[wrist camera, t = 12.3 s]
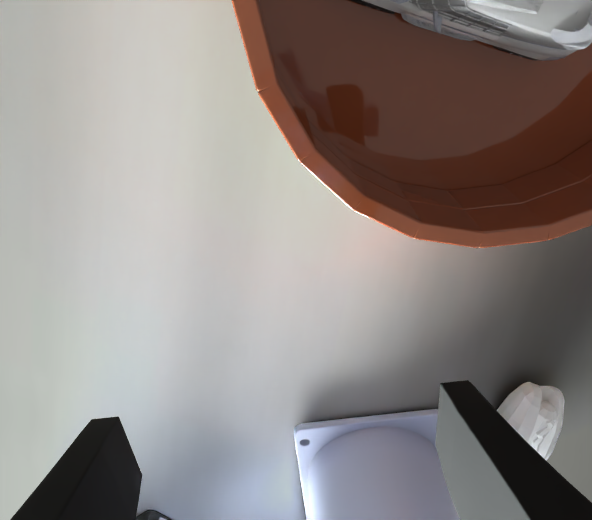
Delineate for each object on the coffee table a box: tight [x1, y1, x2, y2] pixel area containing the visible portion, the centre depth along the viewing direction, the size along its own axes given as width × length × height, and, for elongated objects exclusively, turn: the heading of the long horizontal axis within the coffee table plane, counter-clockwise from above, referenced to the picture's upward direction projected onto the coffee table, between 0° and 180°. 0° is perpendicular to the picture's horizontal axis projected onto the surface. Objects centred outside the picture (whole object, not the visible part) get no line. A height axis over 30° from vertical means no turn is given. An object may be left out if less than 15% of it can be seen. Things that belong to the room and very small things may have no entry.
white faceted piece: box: [497, 382, 565, 461], centre depth 24 cm, size 3×8×3 cm, turn 168°
